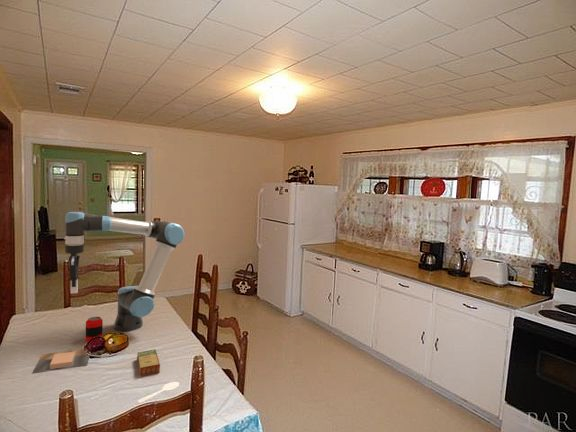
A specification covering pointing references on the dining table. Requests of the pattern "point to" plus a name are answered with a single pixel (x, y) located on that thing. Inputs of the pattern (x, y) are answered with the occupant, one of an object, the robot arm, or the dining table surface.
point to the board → (46, 359)
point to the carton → (148, 362)
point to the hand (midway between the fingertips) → (74, 292)
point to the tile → (62, 360)
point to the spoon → (165, 388)
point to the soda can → (93, 328)
